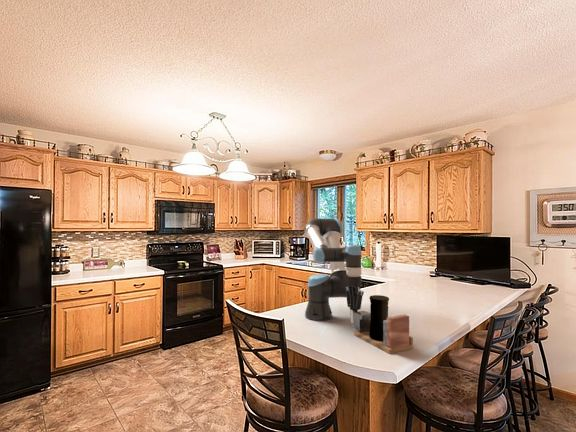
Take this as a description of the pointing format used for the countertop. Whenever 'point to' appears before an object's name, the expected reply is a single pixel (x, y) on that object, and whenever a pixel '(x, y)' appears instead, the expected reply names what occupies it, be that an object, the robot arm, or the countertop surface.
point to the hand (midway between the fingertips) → (354, 322)
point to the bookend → (362, 321)
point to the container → (378, 316)
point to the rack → (391, 335)
